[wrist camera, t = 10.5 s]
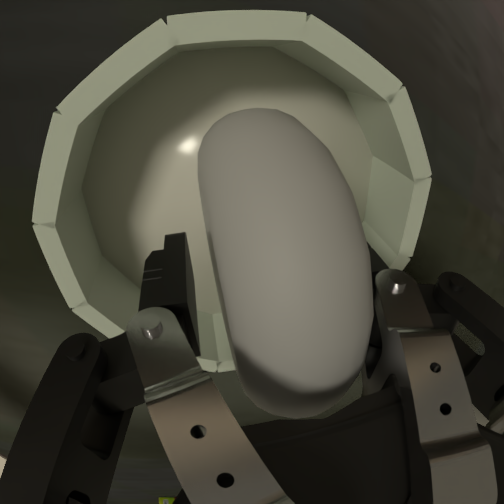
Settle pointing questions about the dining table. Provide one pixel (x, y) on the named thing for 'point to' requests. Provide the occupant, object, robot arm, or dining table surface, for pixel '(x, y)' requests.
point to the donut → (285, 261)
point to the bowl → (188, 143)
